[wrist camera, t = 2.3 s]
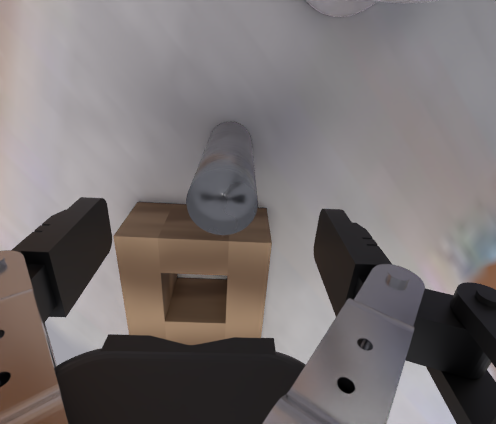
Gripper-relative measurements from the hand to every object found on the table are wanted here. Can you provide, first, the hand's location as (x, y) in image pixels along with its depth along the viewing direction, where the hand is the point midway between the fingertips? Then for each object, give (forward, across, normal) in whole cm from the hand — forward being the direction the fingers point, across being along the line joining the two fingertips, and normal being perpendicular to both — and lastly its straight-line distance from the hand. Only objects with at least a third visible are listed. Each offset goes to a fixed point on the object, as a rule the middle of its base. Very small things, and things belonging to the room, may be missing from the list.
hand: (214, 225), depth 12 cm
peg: (+12, 0, 0) cm, 12 cm away
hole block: (+12, +2, +15) cm, 19 cm away
